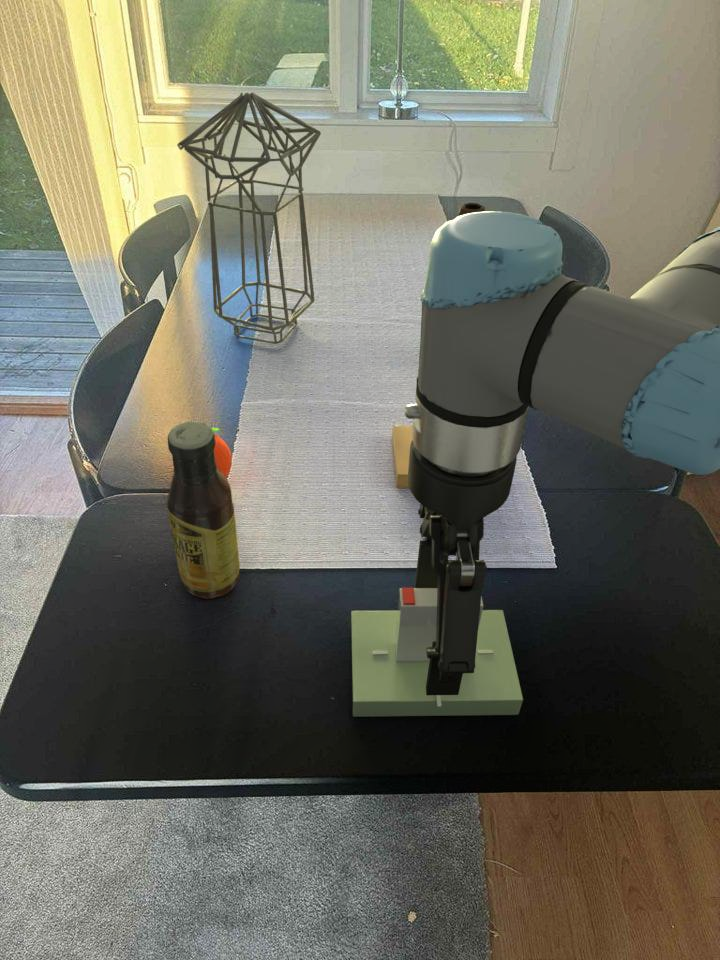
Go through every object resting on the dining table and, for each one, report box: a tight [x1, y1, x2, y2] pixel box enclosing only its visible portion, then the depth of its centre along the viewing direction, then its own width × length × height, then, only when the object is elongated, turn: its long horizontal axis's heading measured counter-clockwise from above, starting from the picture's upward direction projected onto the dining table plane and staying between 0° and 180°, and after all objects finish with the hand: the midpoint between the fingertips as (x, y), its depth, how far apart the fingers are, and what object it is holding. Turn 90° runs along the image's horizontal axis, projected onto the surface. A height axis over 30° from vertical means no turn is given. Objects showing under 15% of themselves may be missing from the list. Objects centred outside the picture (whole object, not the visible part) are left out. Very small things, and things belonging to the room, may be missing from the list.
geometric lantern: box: [176, 91, 322, 345], centre depth 103 cm, size 16×16×35 cm
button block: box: [391, 425, 413, 489], centre depth 89 cm, size 12×10×4 cm
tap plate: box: [350, 609, 524, 718], centre depth 66 cm, size 15×11×3 cm
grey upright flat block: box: [395, 587, 484, 662], centre depth 62 cm, size 7×2×8 cm, turn 91°
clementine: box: [172, 427, 233, 478], centre depth 84 cm, size 8×7×7 cm
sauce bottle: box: [165, 420, 241, 600], centre depth 68 cm, size 7×6×20 cm
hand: (434, 637), depth 63 cm, fingers open, 10 cm apart
